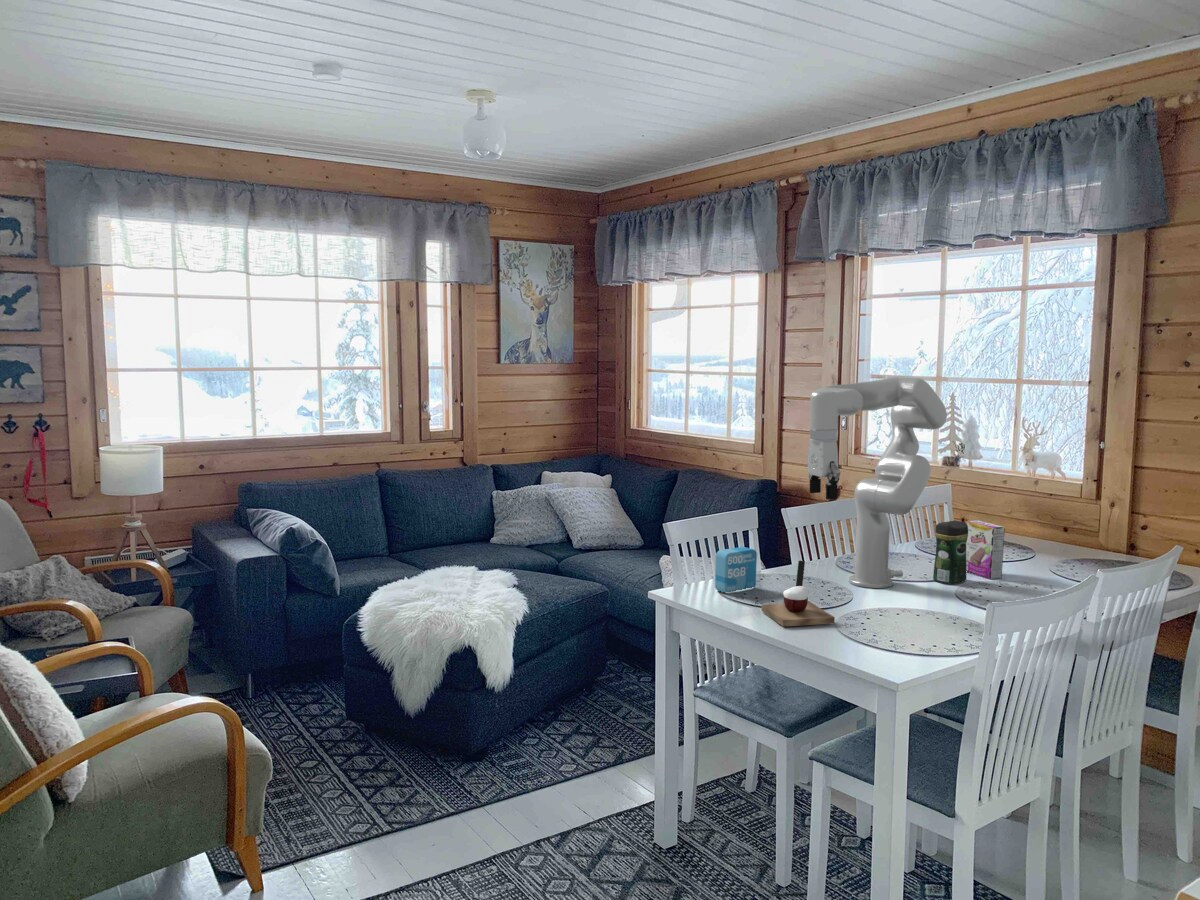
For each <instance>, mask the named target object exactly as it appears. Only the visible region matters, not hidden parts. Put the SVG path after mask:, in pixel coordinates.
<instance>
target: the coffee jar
mask: <svg viewBox="0 0 1200 900" xmlns="http://www.w3.org/2000/svg"><path fill="white" fill-rule="evenodd" d="M934 531H935V533H934V535H935V540H936V543H935V544H936V545H935V547H936V548H935V554H934V555H935V557H934V565H933V573H932V574H933V576H932V577H933V580H934V581H935V580H936V582H937V583H940V584H943V585H944V584H949V585H956V584H961V583H964V582H966V581H967V572H966V543H967V538H968V526H967V522H965V521H960V520H955V519H954V520H949V521H944V522H938V523H937V524H936V525H935V530H934Z"/></svg>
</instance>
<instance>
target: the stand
mask: <svg viewBox="0 0 1200 900" xmlns="http://www.w3.org/2000/svg"><path fill="white" fill-rule="evenodd" d="M761 611H762V612H763V613H764V614H765V615H767V616H768V617H770V618H771V619H772V620H773V621H775V622H776V623H778V624H779V625H780V626H781V627H785V628H787V627H795V626H798V627H799V626H811V625H812V626H814V625H831V624H835V616H833V615H832V614H830V613H829V612H827V611H825V610H823V609H822V608H821V607H819V606H818V605H816V604H814V603H813V602H811V601H808V603H807V607H806V609H805V610H803V611H802V612H791V611H789V610H788V609H786V607H785V604H784V603H771V604H770V603H769V604H768V603H767V604H766V603H765V604H761Z"/></svg>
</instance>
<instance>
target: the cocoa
mask: <svg viewBox="0 0 1200 900" xmlns="http://www.w3.org/2000/svg"><path fill="white" fill-rule="evenodd" d="M805 564H806V561H804V560H798V563H797V572H796V581H795V586H792V587H790V588H788V589H785V590H784V591H783V593H782V594H783V604H785V607H786V609H788V610H789V611H791V612H802V611H803V610H805V609H806V607H807V603H808V602H809V596H810V593H809V591H810V590H809V589H808V587H806V586H803V584H804V583H803V582H804V573H805V566H806V565H805Z"/></svg>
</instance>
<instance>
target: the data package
mask: <svg viewBox="0 0 1200 900" xmlns="http://www.w3.org/2000/svg"><path fill="white" fill-rule="evenodd" d="M757 555H758V554H757V550H756V549H754V548H749V547H745V546H741V547H740V546H739V547H731V548H725V549H719V550H718V551H717V552H716V553H715V570H714V571H715V572H714V573H715V574H714V577H715V578H714V588H715V590H716V591H717V590H718V592H720V591H721V592H720V593H723V592H731V591H736V590H742V589H746V588H752V587H755V588H756V585H757V562H758V561H757Z"/></svg>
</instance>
